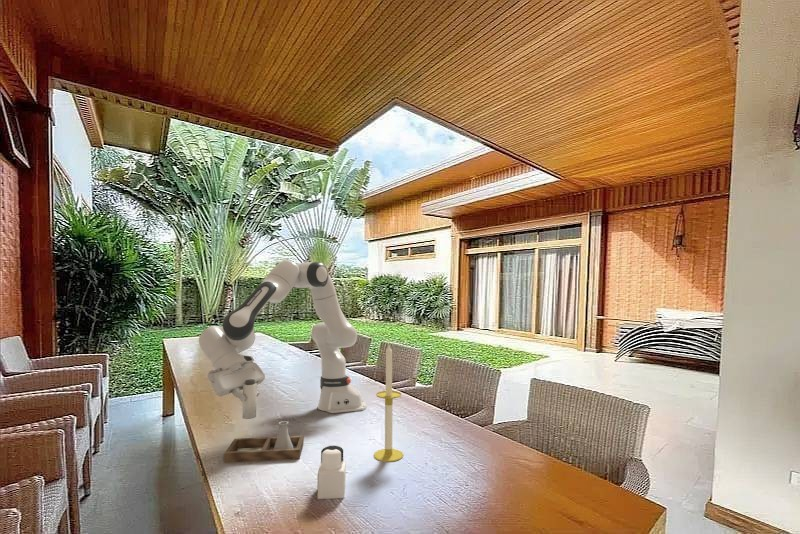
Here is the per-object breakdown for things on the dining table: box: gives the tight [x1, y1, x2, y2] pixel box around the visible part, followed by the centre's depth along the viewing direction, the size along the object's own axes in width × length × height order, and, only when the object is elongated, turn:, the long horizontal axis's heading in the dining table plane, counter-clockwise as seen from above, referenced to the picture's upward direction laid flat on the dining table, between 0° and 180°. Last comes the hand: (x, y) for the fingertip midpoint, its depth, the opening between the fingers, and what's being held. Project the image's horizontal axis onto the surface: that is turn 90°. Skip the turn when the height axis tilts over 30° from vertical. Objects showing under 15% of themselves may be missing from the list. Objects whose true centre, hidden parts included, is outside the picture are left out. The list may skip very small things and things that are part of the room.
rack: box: [223, 435, 305, 464], centre depth 138 cm, size 24×12×3 cm, turn 97°
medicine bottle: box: [316, 445, 347, 500], centre depth 113 cm, size 7×7×12 cm
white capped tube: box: [241, 379, 258, 420], centre depth 138 cm, size 4×4×12 cm
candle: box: [373, 344, 404, 463], centre depth 138 cm, size 10×10×38 cm
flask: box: [272, 420, 295, 450], centre depth 139 cm, size 7×7×10 cm
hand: (251, 397), depth 138 cm, fingers closed on white capped tube, 4 cm apart
